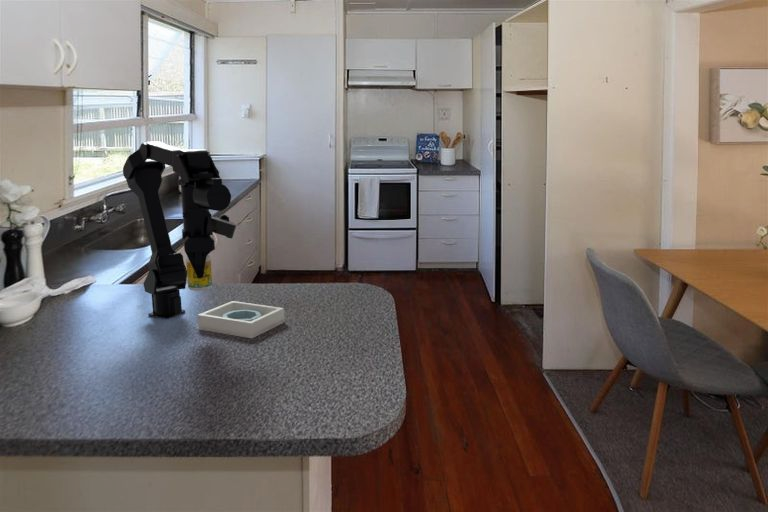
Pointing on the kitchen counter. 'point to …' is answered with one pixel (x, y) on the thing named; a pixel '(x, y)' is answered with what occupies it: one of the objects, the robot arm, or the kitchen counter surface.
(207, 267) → the supplement bottle
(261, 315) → the socket box
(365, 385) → the kitchen counter surface
